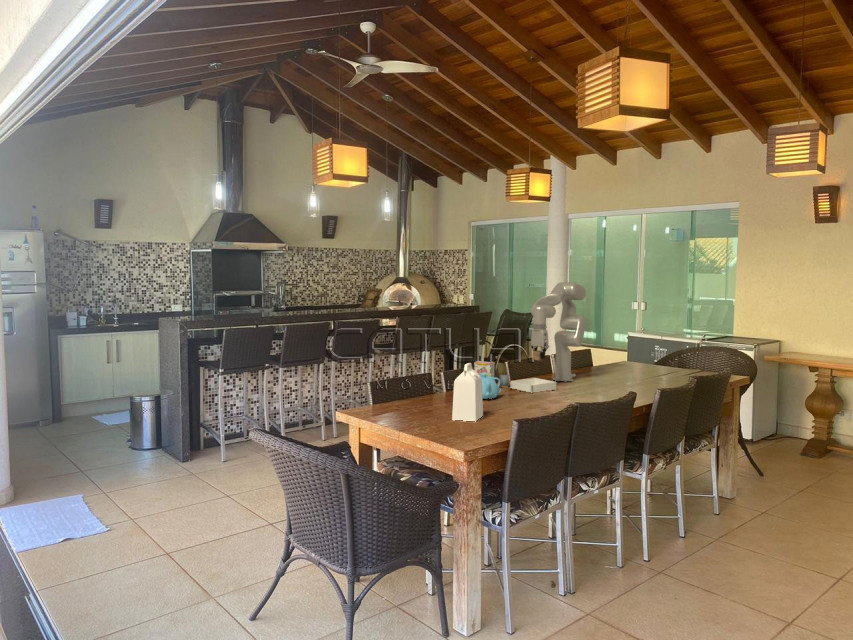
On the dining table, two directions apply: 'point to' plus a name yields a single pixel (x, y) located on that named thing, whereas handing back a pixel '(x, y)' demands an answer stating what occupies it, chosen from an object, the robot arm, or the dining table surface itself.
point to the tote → (533, 385)
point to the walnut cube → (537, 355)
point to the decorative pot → (489, 386)
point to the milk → (467, 396)
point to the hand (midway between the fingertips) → (539, 357)
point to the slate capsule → (504, 380)
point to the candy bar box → (484, 368)
